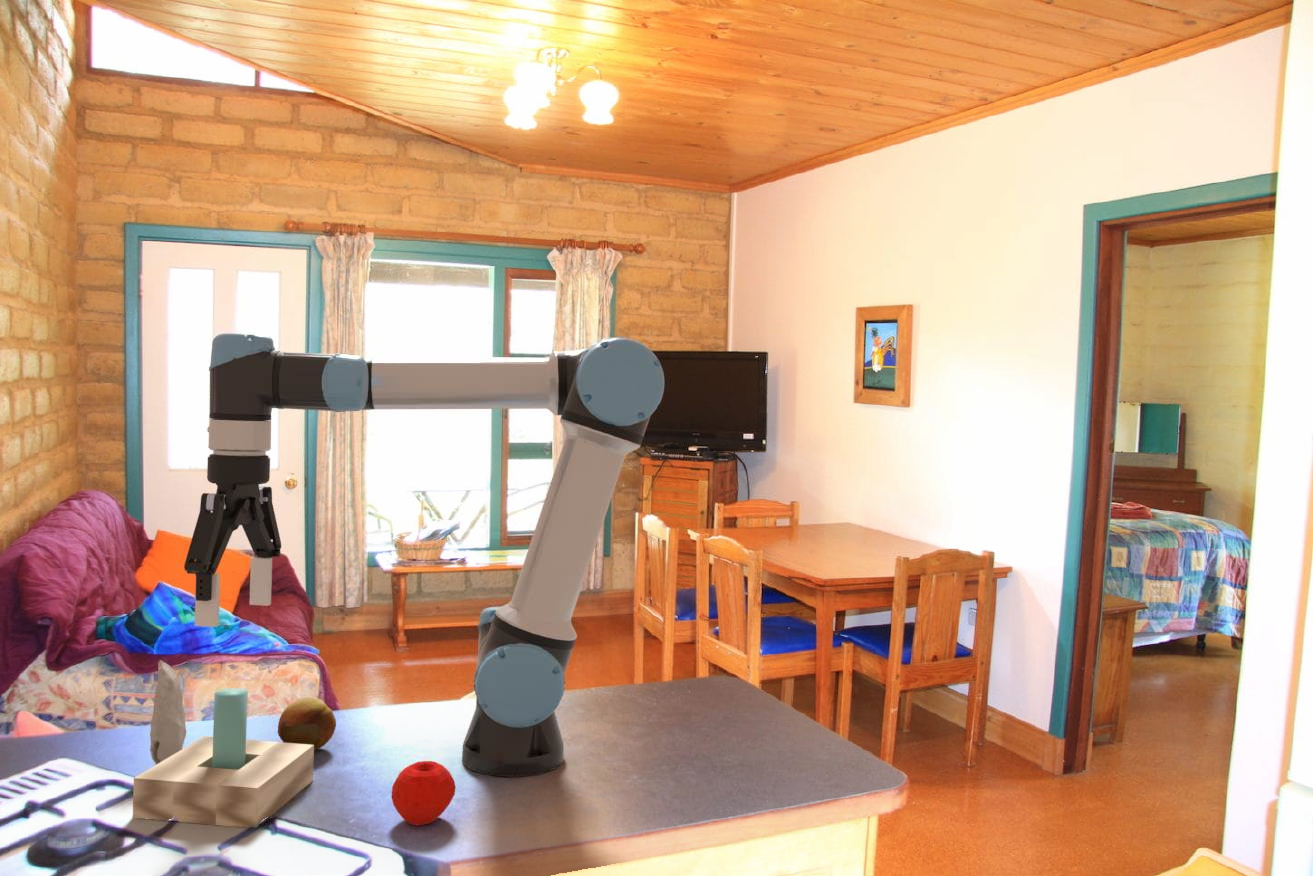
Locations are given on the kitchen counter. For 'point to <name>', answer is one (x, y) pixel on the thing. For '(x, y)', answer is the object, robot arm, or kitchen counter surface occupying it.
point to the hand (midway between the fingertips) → (234, 615)
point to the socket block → (223, 784)
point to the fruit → (307, 722)
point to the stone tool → (167, 715)
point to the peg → (230, 728)
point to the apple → (422, 792)
